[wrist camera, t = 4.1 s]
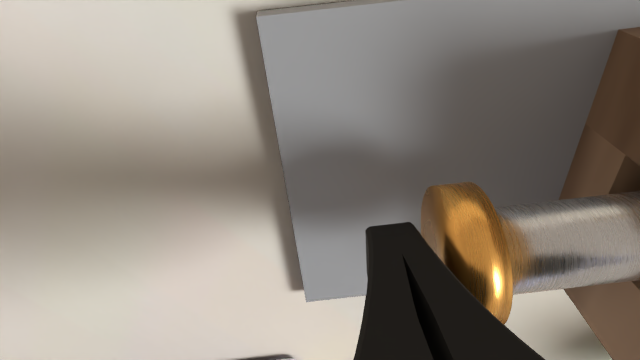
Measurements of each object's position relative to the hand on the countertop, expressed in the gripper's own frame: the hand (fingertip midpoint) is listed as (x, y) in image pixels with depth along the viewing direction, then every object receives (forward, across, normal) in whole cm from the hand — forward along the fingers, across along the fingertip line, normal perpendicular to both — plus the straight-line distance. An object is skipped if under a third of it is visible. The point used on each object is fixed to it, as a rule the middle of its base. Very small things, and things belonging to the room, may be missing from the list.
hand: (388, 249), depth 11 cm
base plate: (+4, -6, 0) cm, 7 cm away
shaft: (+1, -6, 0) cm, 7 cm away
